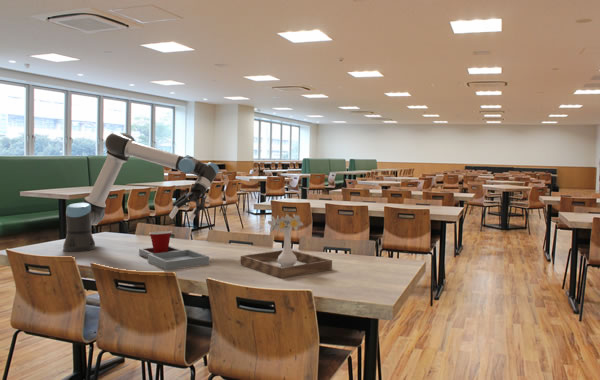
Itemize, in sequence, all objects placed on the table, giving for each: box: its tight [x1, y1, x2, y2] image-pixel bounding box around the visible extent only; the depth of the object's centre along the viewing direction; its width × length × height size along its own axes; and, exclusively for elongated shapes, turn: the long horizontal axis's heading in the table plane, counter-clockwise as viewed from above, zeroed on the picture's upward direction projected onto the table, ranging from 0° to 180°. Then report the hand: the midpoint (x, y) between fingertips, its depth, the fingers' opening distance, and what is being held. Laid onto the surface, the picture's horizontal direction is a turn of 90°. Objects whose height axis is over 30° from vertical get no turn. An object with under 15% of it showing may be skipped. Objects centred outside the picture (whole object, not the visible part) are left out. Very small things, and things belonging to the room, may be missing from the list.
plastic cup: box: [148, 230, 173, 253], centre depth 240 cm, size 11×11×12 cm
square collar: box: [138, 245, 181, 260], centre depth 241 cm, size 15×15×3 cm
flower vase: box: [267, 213, 304, 268], centre depth 219 cm, size 12×18×24 cm
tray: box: [147, 249, 210, 271], centre depth 225 cm, size 20×20×4 cm
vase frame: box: [240, 249, 333, 279], centre depth 220 cm, size 31×27×4 cm
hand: (180, 218), depth 250 cm, fingers open, 13 cm apart
